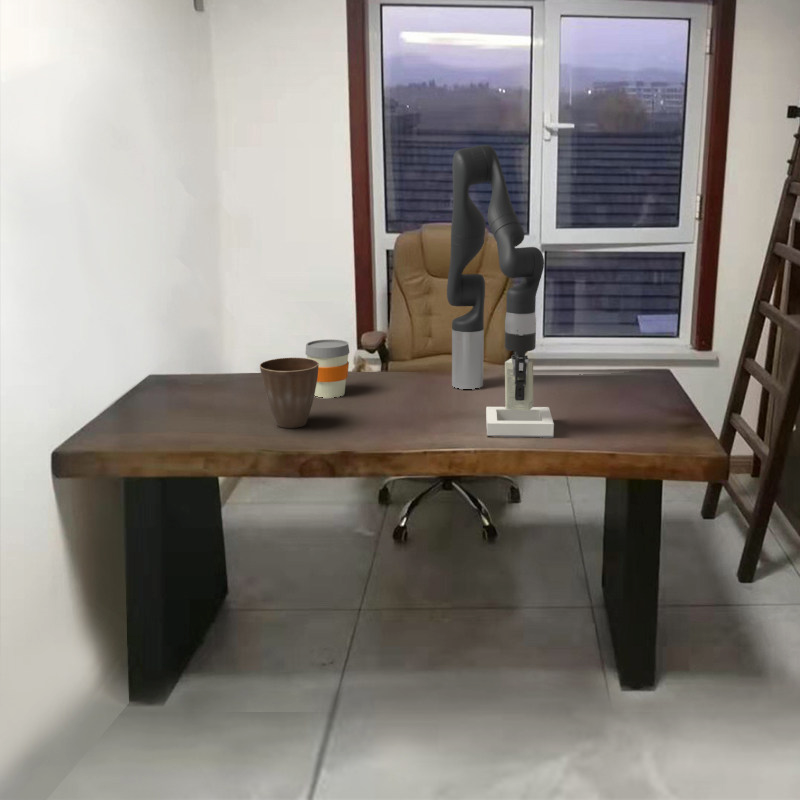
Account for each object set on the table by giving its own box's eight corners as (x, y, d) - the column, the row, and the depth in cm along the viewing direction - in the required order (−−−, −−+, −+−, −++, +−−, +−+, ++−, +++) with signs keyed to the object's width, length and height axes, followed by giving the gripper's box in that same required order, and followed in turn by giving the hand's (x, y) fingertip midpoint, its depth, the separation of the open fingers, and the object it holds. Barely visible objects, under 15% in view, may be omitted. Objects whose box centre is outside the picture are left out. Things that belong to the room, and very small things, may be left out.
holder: (486, 419, 235) (486, 406, 234) (548, 420, 233) (548, 407, 233) (487, 437, 220) (487, 423, 219) (553, 437, 219) (553, 423, 218)
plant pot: (332, 420, 236) (330, 360, 232) (299, 435, 224) (296, 373, 219) (285, 413, 243) (282, 355, 239) (251, 428, 231) (247, 367, 226)
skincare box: (533, 407, 226) (534, 359, 223) (528, 411, 222) (529, 363, 219) (508, 404, 229) (509, 357, 226) (503, 409, 225) (504, 361, 222)
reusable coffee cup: (354, 389, 267) (352, 339, 263) (346, 400, 255) (344, 348, 251) (312, 388, 269) (310, 339, 265) (302, 399, 257) (300, 347, 253)
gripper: (503, 324, 227) (502, 389, 232) (505, 335, 214) (504, 404, 218) (533, 324, 227) (532, 389, 231) (537, 335, 213) (536, 405, 218)
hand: (518, 396), depth 225 cm, fingers closed on skincare box, 5 cm apart
